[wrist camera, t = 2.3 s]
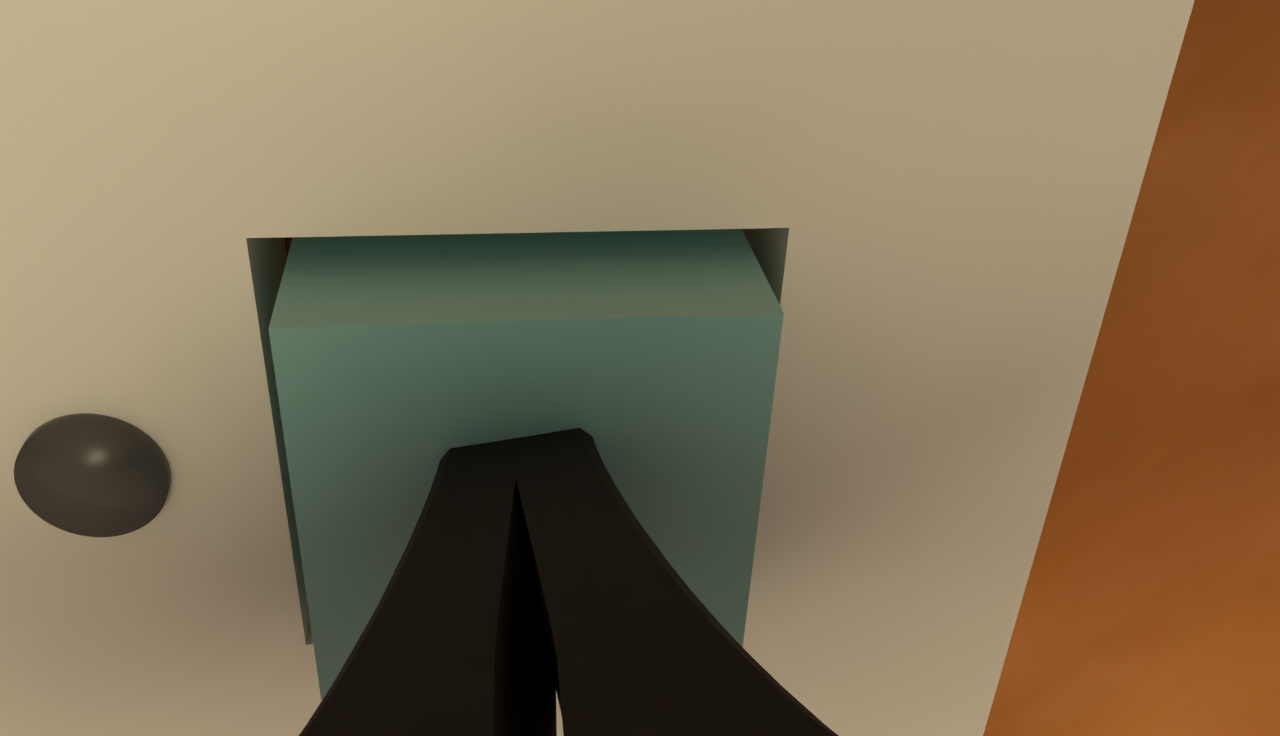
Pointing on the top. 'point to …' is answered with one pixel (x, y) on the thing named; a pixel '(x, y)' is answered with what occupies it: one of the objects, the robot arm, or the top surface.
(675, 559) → the button one
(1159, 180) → the top surface
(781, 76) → the button panel
